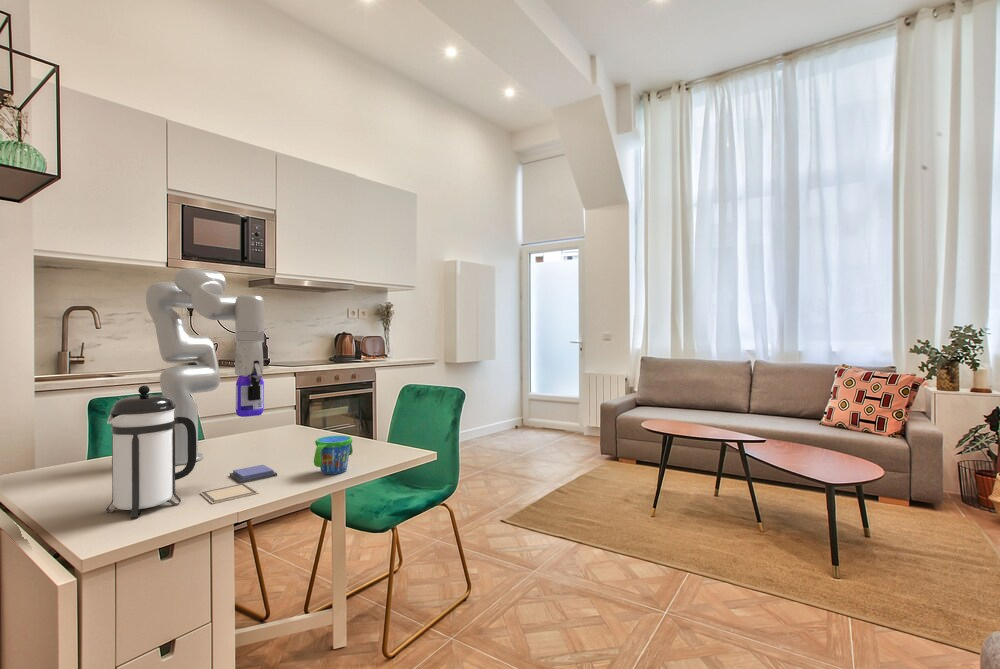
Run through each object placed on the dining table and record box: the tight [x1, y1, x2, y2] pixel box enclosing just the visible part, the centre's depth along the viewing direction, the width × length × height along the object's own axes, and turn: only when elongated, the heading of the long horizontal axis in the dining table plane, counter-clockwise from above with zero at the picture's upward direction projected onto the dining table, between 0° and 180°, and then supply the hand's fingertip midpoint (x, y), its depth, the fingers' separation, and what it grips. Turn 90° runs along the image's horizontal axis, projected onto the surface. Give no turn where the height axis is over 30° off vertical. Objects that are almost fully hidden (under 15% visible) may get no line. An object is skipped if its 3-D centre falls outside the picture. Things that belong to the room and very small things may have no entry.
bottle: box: [235, 374, 265, 418], centre depth 141 cm, size 7×6×17 cm
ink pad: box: [229, 464, 278, 484], centre depth 143 cm, size 10×10×2 cm
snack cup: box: [313, 435, 353, 475], centre depth 147 cm, size 16×10×10 cm
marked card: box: [199, 482, 259, 505], centre depth 127 cm, size 11×11×1 cm
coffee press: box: [105, 385, 197, 520], centre depth 118 cm, size 17×16×30 cm
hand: (250, 398), depth 141 cm, fingers closed on bottle, 5 cm apart
